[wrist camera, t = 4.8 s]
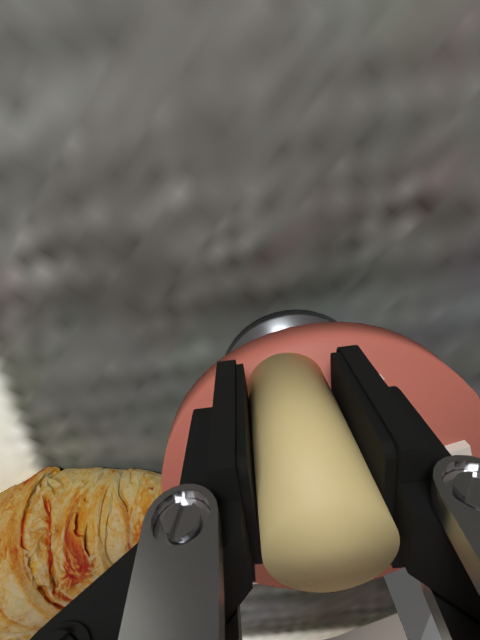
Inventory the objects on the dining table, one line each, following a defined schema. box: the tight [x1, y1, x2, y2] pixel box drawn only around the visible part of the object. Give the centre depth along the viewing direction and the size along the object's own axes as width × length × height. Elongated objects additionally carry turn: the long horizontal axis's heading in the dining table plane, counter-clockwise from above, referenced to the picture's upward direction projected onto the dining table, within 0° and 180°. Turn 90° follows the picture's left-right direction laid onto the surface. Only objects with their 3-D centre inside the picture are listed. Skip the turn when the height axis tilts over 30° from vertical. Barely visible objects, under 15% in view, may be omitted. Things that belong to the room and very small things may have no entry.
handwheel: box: [162, 322, 480, 593], centre depth 11 cm, size 12×12×6 cm
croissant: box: [0, 466, 162, 640], centre depth 21 cm, size 21×10×8 cm, turn 112°
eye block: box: [384, 567, 442, 640], centre depth 22 cm, size 9×9×6 cm
